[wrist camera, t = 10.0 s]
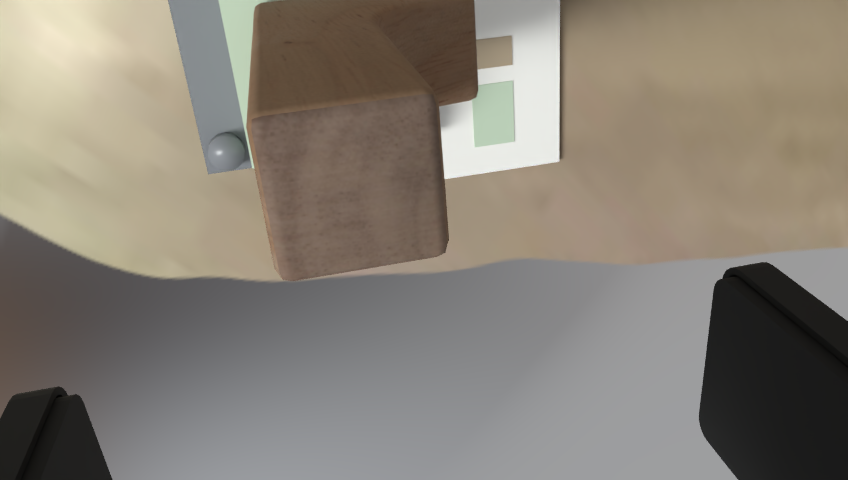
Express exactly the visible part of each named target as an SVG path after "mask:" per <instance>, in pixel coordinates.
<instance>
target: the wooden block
mask: <svg viewBox="0 0 848 480" xmlns="http://www.w3.org/2000/svg"><path fill="white" fill-rule="evenodd" d="M477 93H478V69H477V47H476V26H475V4H474V0H281V1H272V2H264V3H260V4H258V5H257V6H255V9H254V16H253V35H252V47H251V61H250V77H249V92H248V107H247V122H246V129H247V134H248V139H249V144H250V149H251V154H252V159H253V164H254V169H255V174H256V179H257V184H258V189H259V194H260V199H261V204H262V209H263V213H264V218H265V223H266V228H267V233H268V238H269V243H270V248H271V253H272V258H273V263H274V268H275V270H276V271H277V273H278V274H279V275H280V277H281V278H282V279H283V280H288V281H296V280H302V279H308V278H314V277H320V276H326V275H332V274H338V273H344V272H350V271H356V270H362V269H367V268H373V267H379V266H385V265H391V264H397V263H403V262H409V261H415V260H421V259H427V258H433V257H437V256H439V255H441V254H443V253H445V251H446V247H447V244H448V241H449V234H448V220H447V207H446V193H445V180H444V166H443V153H442V139H441V126H440V112H439V107H440V106H445V105H450V104H455V103H460V102H465V101H470V100H472V99H474V98H476V97H477Z"/></svg>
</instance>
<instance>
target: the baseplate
mask: <svg viewBox="0 0 848 480" xmlns="http://www.w3.org/2000/svg"><path fill="white" fill-rule="evenodd" d="M272 1H281V0H168V2H169V7H170V11H171V15H172V20H173V24H174V28H175V33H176V37H177V41H178V45H179V50H180V54H181V58H182V63H183V67H184V71H185V76H186V80H187V84H188V89H189V93H190V97H191V102H192V106H193V110H194V115H195V119H196V123H197V127H198V132H199V136H200V140H201V145H202V149H203V153H204V158H205V162H206V166H207V171H208V174H212V173H219V172H226V171H233V170H240V169H247V168H252V169H254V164H253V159H252V154H251V149H250V144H249V139H248V134H247V129H246V122H247V107H248V92H249V77H250V61H251V47H252V35H253V16H254V9H255V6H257V5H258V4H260V3H264V2H272Z"/></svg>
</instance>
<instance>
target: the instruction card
mask: <svg viewBox="0 0 848 480" xmlns="http://www.w3.org/2000/svg"><path fill="white" fill-rule="evenodd" d="M474 4H475V26H476V47H477V69H478V93H477V97H476V98H474V99H472V100H470V101H465V102H460V103H455V104H450V105H445V106H440V107H439V112H440V126H441V139H442V153H443V166H444V179H449V178H455V177H462V176H468V175H475V174H481V173H488V172H495V171H501V170H508V169H514V168H521V167H527V166H534V165H540V164H547V163H553V162H559V108H560V0H474Z"/></svg>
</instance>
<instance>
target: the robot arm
mask: <svg viewBox="0 0 848 480" xmlns="http://www.w3.org/2000/svg"><path fill="white" fill-rule="evenodd" d="M708 335H709V336H708V343H707V351H706V360H705V368H704V377H703V386H702V394H701V402H700V411H699V422H700V427H701V430H702V432H703V434H704V437H705V438H706V440H707V441H708V442H709V444H710V445H711V446H712V447H713V449H714V450H715V451H716V452H717V454H718V455H719V456H720V457H721V459H722V460H723V461H724V462H725V464H726V465H727V466H728V468H729V469H730V470H731V471H732V473H733V474H734V475H735V476H736V477H737V479H738V480H848V321H846V320H845V319H844V318H843V317H841V316H840V315H838V314H837V313H836V312H835V311H833V310H832V309H831V308H829V307H828V306H827V305H825V304H824V303H823V302H821V301H820V300H818V299H817V298H816V297H815V296H813V295H812V294H810V293H809V292H808V291H806V290H805V289H804V288H802V287H801V286H800V285H798V284H797V283H796V282H794V281H793V280H792V279H790V278H789V277H788V276H786V275H785V274H784V273H782V272H781V271H780V270H778V269H777V268H775V267H774V266H773V265H771V264H769V263H767V262H765V263H764V262H761V263H756V264H750V265H744V266H739V267H733V268H730V269H728V270H726V272H725V274H724V275H723V279H720V280H718V281H717V282H716V284H715V286H714V292H713V300H712V309H711V317H710V326H709V334H708ZM0 480H112V478H111V475H110V472H109V470H108V467H107V464H106V462H105V459H104V456H103V454H102V451H101V448H100V445H99V443H98V440H97V437H96V435H95V432H94V429H93V427H92V424H91V421H90V419H89V416H88V413H87V411H86V408H85V405H84V403H83V401H82V399H81V397H80V396H79V395H77V394H75V395H70V396H68V395H67V393H66V391H65V390H64V389H63V388H61V387H54V388H48V389H42V390H37V391H31V392H25V393H19V394H16V395H14V396H12V398H11V399H10V401H9V402H8V404H7V406H6V408H5V410H4V412H3V414H2V416H1V418H0Z"/></svg>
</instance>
